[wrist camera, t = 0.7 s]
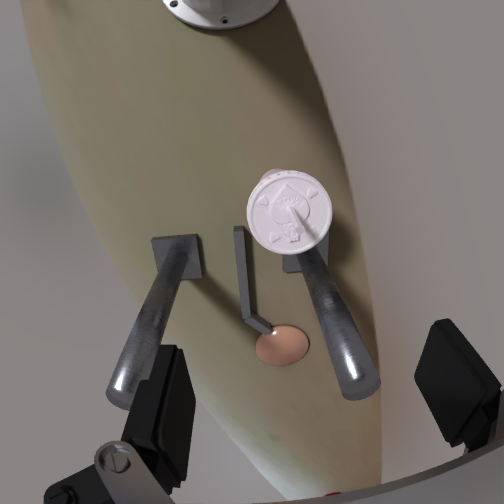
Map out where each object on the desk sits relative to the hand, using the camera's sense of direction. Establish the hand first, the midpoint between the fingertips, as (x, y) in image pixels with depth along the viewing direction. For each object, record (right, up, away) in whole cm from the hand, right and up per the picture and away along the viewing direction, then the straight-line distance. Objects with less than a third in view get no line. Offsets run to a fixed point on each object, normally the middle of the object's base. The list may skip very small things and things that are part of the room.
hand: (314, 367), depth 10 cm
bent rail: (-2, +1, +25) cm, 25 cm away
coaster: (+2, -8, +30) cm, 31 cm away
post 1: (-10, +4, +24) cm, 26 cm away
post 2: (+4, +5, +24) cm, 24 cm away
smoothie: (0, +11, +21) cm, 24 cm away
